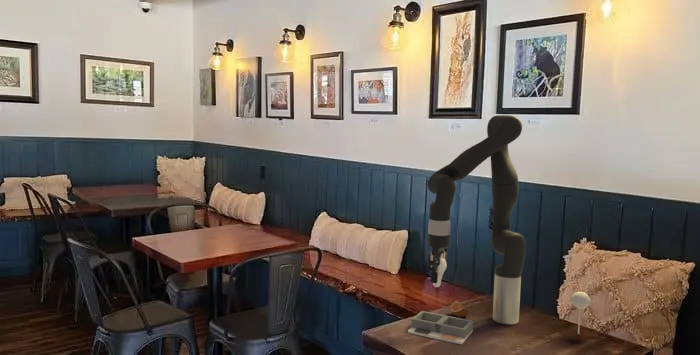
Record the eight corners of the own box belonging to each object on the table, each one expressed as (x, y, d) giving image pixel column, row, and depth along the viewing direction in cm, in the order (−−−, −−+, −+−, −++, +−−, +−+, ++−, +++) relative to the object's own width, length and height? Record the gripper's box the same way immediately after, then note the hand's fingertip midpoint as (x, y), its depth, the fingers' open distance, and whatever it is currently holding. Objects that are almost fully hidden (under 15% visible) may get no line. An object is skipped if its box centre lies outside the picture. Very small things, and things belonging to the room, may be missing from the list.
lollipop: (587, 332, 191) (590, 290, 189) (588, 338, 185) (591, 295, 183) (568, 329, 193) (571, 288, 191) (569, 335, 187) (572, 293, 185)
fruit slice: (471, 320, 200) (472, 307, 200) (454, 320, 199) (454, 307, 199) (464, 312, 208) (464, 299, 208) (447, 312, 207) (447, 300, 207)
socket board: (421, 320, 198) (421, 310, 198) (472, 331, 189) (473, 320, 189) (407, 332, 187) (408, 322, 186) (461, 344, 178) (462, 333, 177)
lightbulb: (445, 290, 185) (447, 259, 184) (427, 289, 186) (428, 257, 185) (445, 285, 191) (447, 254, 190) (428, 284, 192) (429, 253, 191)
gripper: (443, 237, 178) (440, 287, 180) (455, 230, 191) (453, 277, 193) (421, 234, 182) (419, 283, 183) (435, 227, 195) (433, 274, 196)
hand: (436, 280), depth 188 cm, fingers closed on lightbulb, 5 cm apart
